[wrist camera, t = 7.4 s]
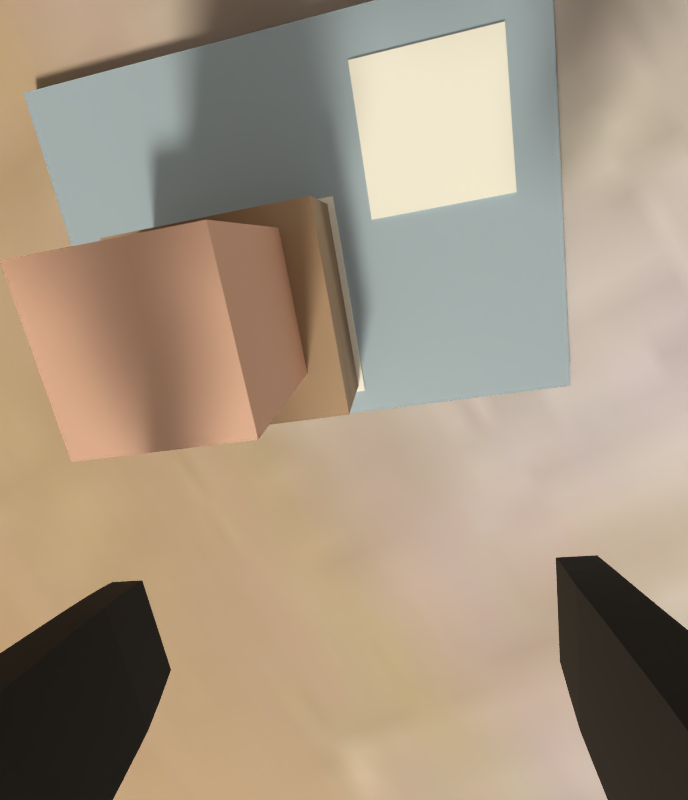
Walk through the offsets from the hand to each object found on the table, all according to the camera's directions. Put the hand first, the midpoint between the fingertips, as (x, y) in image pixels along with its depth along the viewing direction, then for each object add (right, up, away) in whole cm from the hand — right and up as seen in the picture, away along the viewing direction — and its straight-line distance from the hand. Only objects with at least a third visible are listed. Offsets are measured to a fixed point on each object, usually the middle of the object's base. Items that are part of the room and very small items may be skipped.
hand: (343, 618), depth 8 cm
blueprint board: (-1, +9, +8) cm, 12 cm away
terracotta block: (-3, +6, +5) cm, 9 cm away
